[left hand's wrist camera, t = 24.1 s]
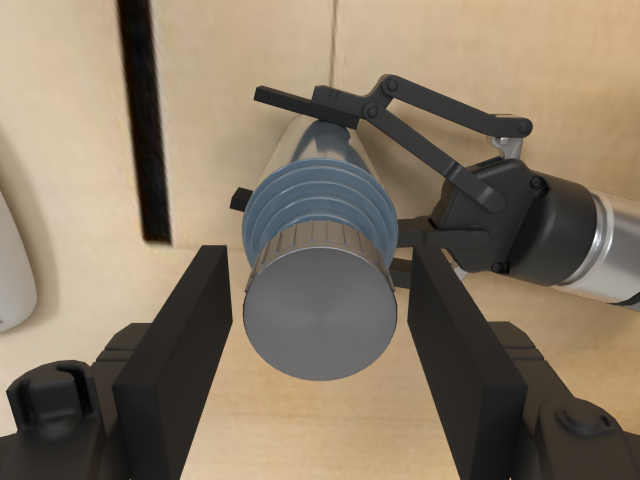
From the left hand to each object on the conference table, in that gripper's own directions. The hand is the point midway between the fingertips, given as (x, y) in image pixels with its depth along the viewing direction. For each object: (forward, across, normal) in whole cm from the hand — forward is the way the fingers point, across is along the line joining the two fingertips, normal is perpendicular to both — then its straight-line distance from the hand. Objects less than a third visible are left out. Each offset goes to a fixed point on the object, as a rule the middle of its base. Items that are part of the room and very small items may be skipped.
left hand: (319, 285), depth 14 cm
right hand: (+17, -5, +1) cm, 18 cm away
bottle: (+24, 0, 0) cm, 24 cm away
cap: (-2, 0, 0) cm, 2 cm away
